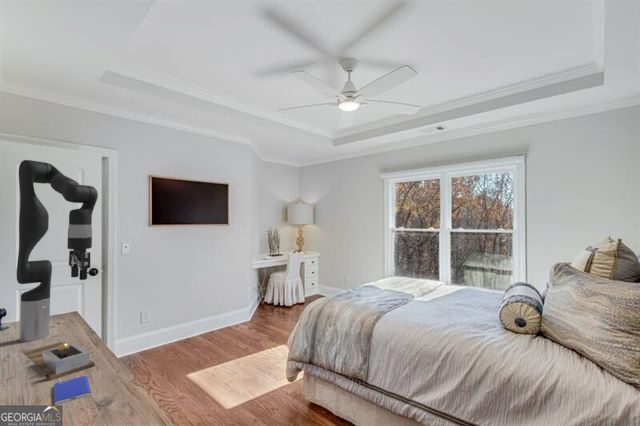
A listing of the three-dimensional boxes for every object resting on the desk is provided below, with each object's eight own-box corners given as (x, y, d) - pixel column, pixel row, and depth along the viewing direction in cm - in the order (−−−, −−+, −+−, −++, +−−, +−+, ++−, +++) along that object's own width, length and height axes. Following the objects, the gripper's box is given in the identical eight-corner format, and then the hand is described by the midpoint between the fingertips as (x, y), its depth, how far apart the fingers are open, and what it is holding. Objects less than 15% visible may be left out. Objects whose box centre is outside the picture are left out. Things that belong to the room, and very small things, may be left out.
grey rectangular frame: (42, 362, 109) (42, 351, 109) (73, 354, 117) (74, 343, 117) (56, 374, 101) (56, 361, 101) (88, 364, 109) (89, 352, 109)
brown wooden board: (21, 355, 118) (22, 351, 118) (61, 344, 128) (61, 341, 128) (50, 380, 100) (50, 376, 100) (94, 366, 110) (94, 362, 110)
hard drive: (54, 383, 96) (54, 401, 87) (87, 375, 101) (91, 391, 92) (53, 388, 96) (54, 407, 87) (87, 379, 101) (91, 396, 92)
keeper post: (55, 361, 110) (55, 343, 110) (66, 358, 113) (67, 340, 113) (58, 364, 108) (59, 345, 108) (70, 360, 111) (70, 342, 111)
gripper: (61, 236, 123) (60, 277, 123) (75, 237, 115) (74, 282, 115) (84, 235, 129) (83, 275, 129) (98, 236, 121) (97, 279, 121)
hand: (78, 278), depth 122 cm, fingers open, 8 cm apart
